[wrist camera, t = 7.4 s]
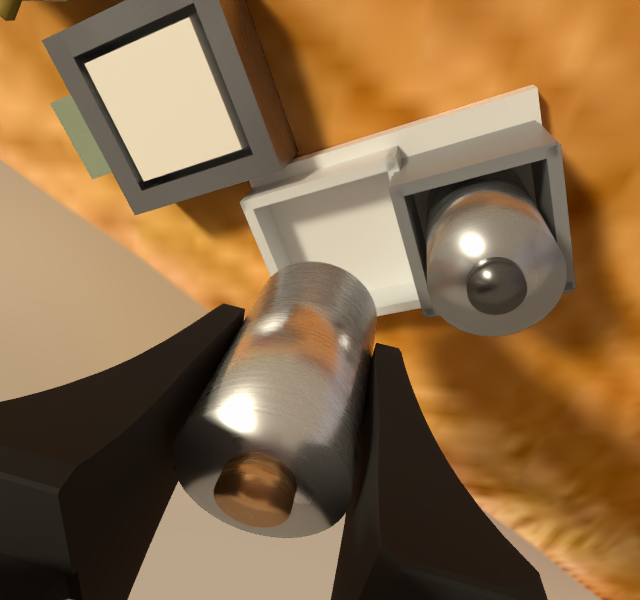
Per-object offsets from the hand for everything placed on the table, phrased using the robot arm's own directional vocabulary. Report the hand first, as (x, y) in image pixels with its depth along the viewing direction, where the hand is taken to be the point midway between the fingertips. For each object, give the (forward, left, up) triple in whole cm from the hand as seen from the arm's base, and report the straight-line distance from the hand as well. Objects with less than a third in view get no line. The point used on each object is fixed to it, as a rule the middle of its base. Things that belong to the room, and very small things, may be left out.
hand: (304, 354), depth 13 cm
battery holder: (0, -2, -9) cm, 9 cm away
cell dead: (0, -5, -8) cm, 9 cm away
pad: (+7, +4, -7) cm, 11 cm away
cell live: (0, 0, -2) cm, 2 cm away
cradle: (+7, +4, -9) cm, 12 cm away
